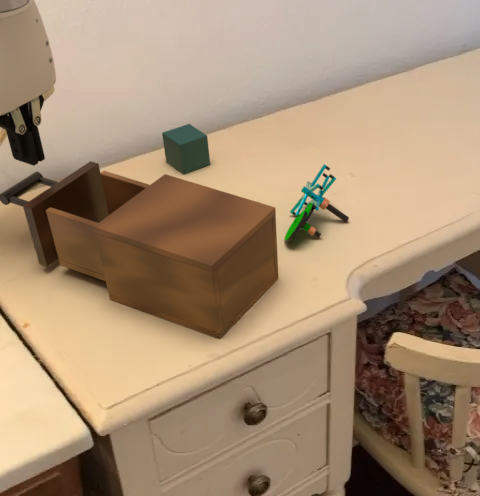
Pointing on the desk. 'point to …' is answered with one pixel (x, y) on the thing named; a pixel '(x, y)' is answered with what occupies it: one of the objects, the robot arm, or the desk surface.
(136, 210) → the cabinet
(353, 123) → the desk surface
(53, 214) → the drawer
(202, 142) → the block
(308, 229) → the stick construction toy
